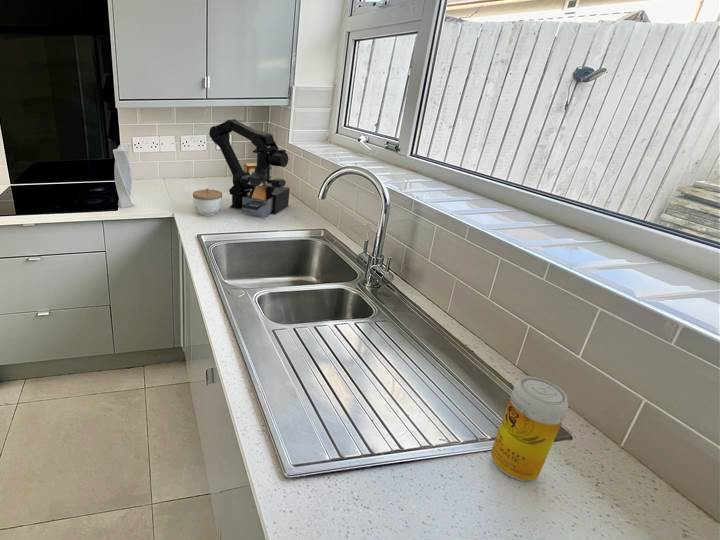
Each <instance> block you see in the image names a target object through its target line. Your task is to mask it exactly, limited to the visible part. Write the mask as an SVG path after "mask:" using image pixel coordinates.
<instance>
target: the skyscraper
mask: <svg viewBox="0 0 720 540" xmlns="http://www.w3.org/2000/svg"><path fill="white" fill-rule="evenodd" d="M123 145H127V146H128V147H127V148H125V147H123ZM130 146H131V144H130V143H127V142H125V143H120V144H119V145H118V146H117V148H114V149H113V150H112V153H113V157H114V168H113V169H114V172H113V173H114V174H113V175H114V182H115V188H116V192H117V196H118V201H117V202H118V203H117V206H118V207H120V208H122V209H123V208H124V209H125V208H129V207H134V204H133V202H132V199H131V195H132V184H133V180H132V179H133V177H132V169H131V165H130V162H129V159H128V158H129V152H130Z"/></svg>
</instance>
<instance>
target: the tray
mask: <svg viewBox="0 0 720 540" xmlns="http://www.w3.org/2000/svg"><path fill="white" fill-rule="evenodd" d="M252 195H253V194H251V195H249V196H247V197H242V209H241V213H243V214H247V215H253V216H258V217H263V218H267V217H268V215H269V214H270V212H272V211H274V197H273V196H271V197H270V198H269V199H267V200H260V199H254V198H252Z"/></svg>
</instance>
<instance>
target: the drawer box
mask: <svg viewBox="0 0 720 540" xmlns="http://www.w3.org/2000/svg"><path fill="white" fill-rule="evenodd" d="M268 186H269V184H264V185H262V187H268ZM251 194H253V192H252V190H251V191H250V195H251ZM271 196H273V197H274V211H272V212H270V213H269V214H271V215H276V214H279V212H281V211H283V210H284V209H286V208H288V207H289V202H290V187H287V186H283V187H281V188H278V187H276V188H275V189H274V191H273V193H272V195H271Z"/></svg>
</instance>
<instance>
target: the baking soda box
mask: <svg viewBox="0 0 720 540" xmlns="http://www.w3.org/2000/svg"><path fill="white" fill-rule="evenodd" d="M255 167H257V162H248V163H247V162H246V163H243V171H244V172H245V173H246V172H249V173H250V175H251V174H252V173H254V171H255ZM264 184H265V183H261V184H260V185H259V186H262V185H264ZM251 190H252V189H251ZM251 190H250V191H251ZM246 194H247V196H249V195H250V193H246Z"/></svg>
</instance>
